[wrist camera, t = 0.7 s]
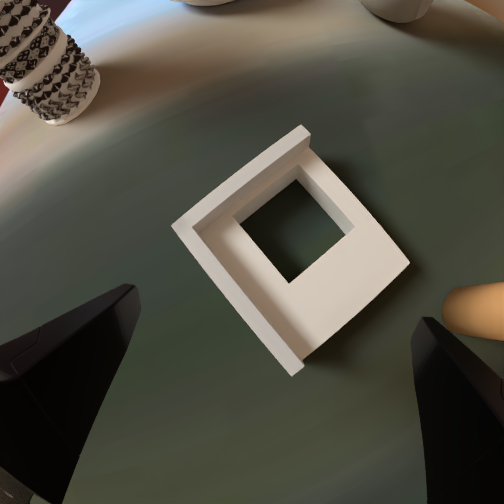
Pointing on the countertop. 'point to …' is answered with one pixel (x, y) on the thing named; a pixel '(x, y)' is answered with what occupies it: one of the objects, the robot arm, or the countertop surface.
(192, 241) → the housing
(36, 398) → the robot arm
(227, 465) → the countertop surface
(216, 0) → the paper bowls
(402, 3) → the light grey bottle
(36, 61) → the decorative candle
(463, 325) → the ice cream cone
